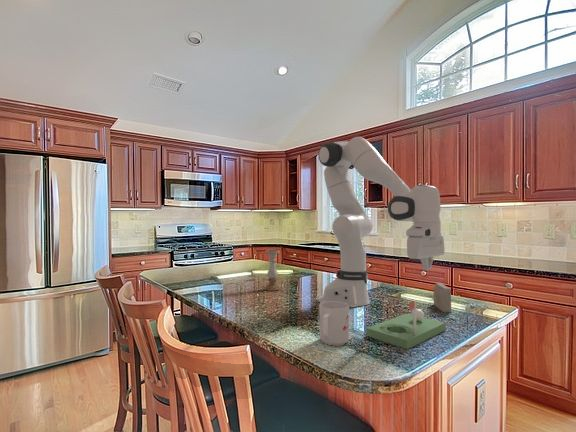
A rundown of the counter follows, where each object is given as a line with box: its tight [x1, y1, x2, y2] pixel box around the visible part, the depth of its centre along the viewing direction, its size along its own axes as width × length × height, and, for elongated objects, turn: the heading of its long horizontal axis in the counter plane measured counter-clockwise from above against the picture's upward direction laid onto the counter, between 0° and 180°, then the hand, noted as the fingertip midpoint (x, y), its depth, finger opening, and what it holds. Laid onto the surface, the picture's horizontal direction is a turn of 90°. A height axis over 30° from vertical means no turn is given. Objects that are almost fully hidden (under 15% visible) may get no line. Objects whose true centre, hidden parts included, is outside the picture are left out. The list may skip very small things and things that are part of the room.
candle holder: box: [263, 249, 282, 292], centre depth 172 cm, size 9×9×20 cm
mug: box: [318, 301, 350, 347], centre depth 98 cm, size 12×9×11 cm
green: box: [366, 300, 446, 350], centre depth 107 cm, size 24×14×12 cm, turn 130°
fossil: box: [432, 282, 452, 313], centre depth 136 cm, size 12×4×10 cm, turn 173°
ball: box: [411, 308, 425, 321], centre depth 111 cm, size 4×4×4 cm
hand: (427, 270), depth 115 cm, fingers closed
